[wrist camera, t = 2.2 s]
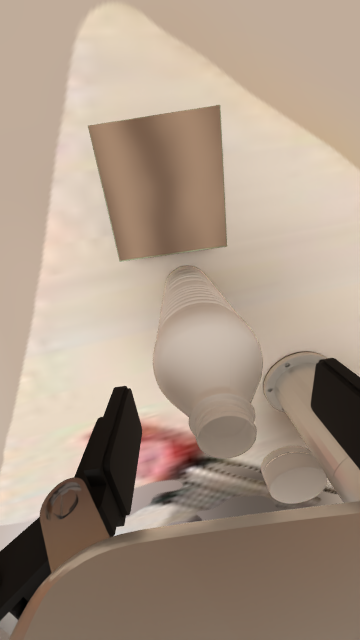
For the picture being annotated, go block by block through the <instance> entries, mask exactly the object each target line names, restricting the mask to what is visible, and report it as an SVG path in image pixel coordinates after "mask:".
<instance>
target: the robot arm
mask: <svg viewBox="0 0 360 640" xmlns="http://www.w3.org/2000/svg"><path fill="white" fill-rule="evenodd" d="M264 394H265V396H266V398H267V400H268V401H269V403H270V404H271V405H272V406H273V407H274V408H276V409H277V410H279V411H282V412H286V414H287V415H288V417H289V418H290V420H291V422H292V423H293V425H294V426H295V428H296V429H297V431H298V433H299V434H300V436H301V437H302V439H303V440H304V442H305V444H306V445H307V447H308V448H309V450H310V451H311V452H312V453H313V455H314V456H315V458H316V459H317V461H318V463H319V464H320V466H321V467H322V469H323V471H324V472H325V474H326V476H327V478H328V480H329V481H330V483H331V484H332V486H333V487H334V489H335V490H336V492H337V493H338V495H339V496H340V498H341V499H342V501H343V502H344V503H339V504H331V505H323V506H316V507H307V508H299V509H291V510H283V511H276V512H267V513H259V514H251V515H244V516H236V517H229V518H221V519H213V520H206V521H198V522H191V523H184V524H176V525H170V526H163V527H157V528H150V529H144V530H138V531H134V532H129V533H124V534H120V535H117V536H114V535H115V531H116V527H119V526H124V524H125V518H126V515H129V514H130V511H131V505H132V498H133V491H134V485H135V478H136V471H137V464H138V457H139V450H140V443H141V437H142V427H141V423H140V419H139V416H138V412H137V409H136V405H135V402H134V398H133V394H132V391H131V389H130V388H129V389H128V388H127V386H122V387H115V388H114V389H113V392H112V395H111V397H110V400H109V403H108V405H107V408H106V411H105V414H104V416H103V417H100V418H98V420H97V422H96V424H95V427H94V429H93V432H92V434H91V437H90V439H89V442H88V444H87V447H86V449H85V452H84V454H83V457H82V459H81V462H80V464H79V467H78V469H77V472H76V474H75V477H74V478H70V479H67V480H64V481H63V482H61V483H60V484H58V485H57V486H56V487H55V488H54V489H53V490H52V491H51V492H50V493H49V494H48V496H47V497H46V499H45V500H44V502H43V504H42V507H41V510H40V517H39V518H38V519H37V520H36V521H35V522H33V523H32V524H31V525H30V526H29V527H28V528H27V529H26V530H25V531H23V532H22V533H21V534H20V535H19V536H18V537H16V538H15V539H14V540H13V541H12V542H11V543H9V545H7V546H6V547H5V548H4V549H3V550H1V551H0V640H360V377H359V376H357V375H356V374H355V373H353V372H352V371H351V370H349V369H348V368H347V367H345V366H344V365H343V364H341V363H340V362H339V361H337V360H336V359H334V358H328V359H327V358H326V357H324V356H322V355H320V354H317V353H313V352H302V353H296V354H293V355H290V356H288V357H286V358H284V359H282V360H281V361H279V362H278V363H277V364H275V365H274V366H273V367H272V368H271V370H270V371H269V372H268V374H267V376H266V378H265V381H264ZM113 536H114V537H113Z"/></svg>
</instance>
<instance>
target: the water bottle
mask: <svg viewBox="0 0 360 640" xmlns="http://www.w3.org/2000/svg"><path fill="white" fill-rule="evenodd" d="M262 368H263V360H262V353H261V348H260V345H259V342H258V340H257V338H256V336H255V334H254V333H253V331H252V330H251V329H250V327H249V326H248V325H247V324H246V323H245V321H244V320H243V319H241V318H240V316H239V315H238V314H237V313H236V311H235V310H234V309H233V308H232V307H231V305H230V304H229V303H228V302H227V301H226V299H225V298H224V297H223V295H222V294H221V293H220V292H219V291H218V289H217V288H216V287H215V286H214V285H213V283H212V282H211V281H210V280H209V279H208V277H207V276H206V275H205V274H204V273H203V272H202V271H201V270H200V269H198V268H196V267H193V266H182V267H179V268H177V269H176V270H174V271H173V272H172V273H171V274H170V275H169V276H168V278H167V280H166V283H165V289H164V295H163V301H162V307H161V315H160V321H159V326H158V332H157V339H156V342H155V347H154V353H153V369H154V374H155V378H156V381H157V383H158V385H159V388H160V389H161V391H162V393H163V394H164V395H165V397H166V398H167V399H168V400H169V401H170V402H171V403H172V404H173V405H175V406H176V407H177V408H178V409H179V410H181V411H182V412H183V413H184V414H186V415H187V416H188V417H189V426H190V429H191V431H192V432H193V434H194V435H195V437H196V441H197V443H198V446H199V448H200V449H201V450H202V451H203V452H204V453H205V454H207V455H209V456H211V457H215V458H222V459H225V458H233V457H236V456H239V455H241V454H243V453H245V452H246V451H248V450H249V449H250V448H251V447H252V445H253V444H254V442H255V440H256V426H255V424H254V421H255V411H254V408H253V406H252V405H251V401H252V399H253V396H254V394H255V392H256V389H257V387H258V384H259V382H260V379H261V375H262ZM289 452H296V453H289ZM299 452H304V453H299ZM285 453H289V454H285ZM306 453H308V454H306ZM282 454H285V455H282ZM279 455H282V456H280V457H278V456H279ZM276 457H277V458H276ZM274 458H276V459H274ZM272 459H274V460H273V461H271V460H272ZM270 461H271V462H270ZM269 462H270V463H269ZM267 464H268V465H267ZM266 466H267V467H266ZM265 467H266V468H265ZM261 471H262V474H263V477H264V480H265V482H266V485H267V487H268V490H269V493H270V494H271V496H272V497H273V498H274V499H276V500H277V501H280V502H283V503H300V502H304V501H307V500H310V499H312V498H314V497H316V496H317V495H318V494H320V493H321V492H322V491H323V490H324V488H325V487H326V484H327V476H326V474H325V472H324V471H323V469H322V467H321V466H320V464H319V463H318V461H317V459H316V458H315V456H314V455H313V453H312V452H311V451H310V450H308V449H307V448H304V447H301V446H286V447H282V448H279V449H277V450H275V451H273V452H271V453H270V454H269V455H267V456H266V457H265V459H264V460H263V462H262V464H261Z"/></svg>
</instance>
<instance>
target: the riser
mask: <svg viewBox="0 0 360 640" xmlns="http://www.w3.org/2000/svg"><path fill="white" fill-rule="evenodd" d="M88 128H89V133H90V137H91V141H92V145H93V150H94V154H95V158H96V163H97V167H98V171H99V175H100V180H101V184H102V188H103V192H104V197H105V201H106V205H107V210H108V214H109V218H110V222H111V227H112V231H113V235H114V239H115V244H116V248H117V252H118V257H119V261H120V262H121V261H128V260H135V259H142V258H149V257H156V256H163V255H170V254H177V253H184V252H191V251H198V250H205V249H212V248H219V247H226V246H227V236H226V215H225V194H224V174H223V153H222V132H221V111H220V105H216V106H209V107H203V108H197V109H191V110H184V111H178V112H172V113H165V114H159V115H153V116H146V117H140V118H134V119H127V120H121V121H115V122H109V123H102V124H96V125H90V126H88Z"/></svg>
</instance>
